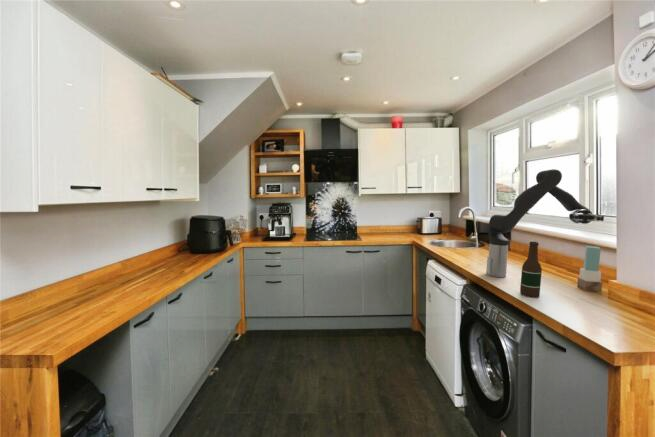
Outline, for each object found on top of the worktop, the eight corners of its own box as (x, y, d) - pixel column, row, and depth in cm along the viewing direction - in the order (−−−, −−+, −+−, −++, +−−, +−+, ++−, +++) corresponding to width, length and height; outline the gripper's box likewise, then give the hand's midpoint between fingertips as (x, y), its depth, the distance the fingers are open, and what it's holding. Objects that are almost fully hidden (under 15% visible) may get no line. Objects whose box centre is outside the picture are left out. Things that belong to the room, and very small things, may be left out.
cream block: (586, 281, 162) (587, 270, 161) (579, 277, 167) (580, 267, 167) (600, 282, 160) (601, 271, 160) (592, 278, 166) (594, 268, 166)
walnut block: (584, 291, 161) (585, 281, 161) (577, 287, 168) (578, 277, 168) (601, 293, 160) (602, 282, 160) (593, 288, 167) (594, 278, 166)
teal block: (585, 270, 162) (587, 247, 162) (583, 268, 167) (585, 245, 166) (598, 271, 160) (600, 248, 159) (596, 269, 164) (598, 247, 163)
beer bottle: (543, 298, 148) (548, 243, 146) (525, 297, 149) (530, 243, 146) (533, 292, 156) (537, 241, 154) (516, 292, 156) (520, 240, 154)
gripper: (568, 208, 190) (571, 209, 176) (600, 210, 182) (606, 211, 169) (567, 222, 190) (570, 224, 176) (599, 224, 183) (604, 226, 169)
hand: (587, 218), depth 172 cm, fingers open, 8 cm apart
